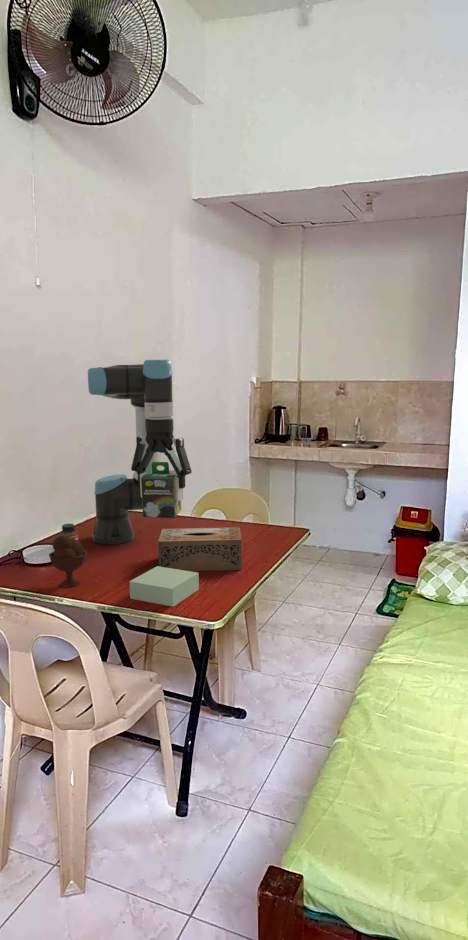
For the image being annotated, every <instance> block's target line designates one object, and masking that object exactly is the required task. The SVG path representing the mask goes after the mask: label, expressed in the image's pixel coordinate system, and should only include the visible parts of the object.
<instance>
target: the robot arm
mask: <svg viewBox="0 0 468 940" xmlns="http://www.w3.org/2000/svg"><path fill="white" fill-rule="evenodd" d="M142 363H143V364H142ZM142 363H141V364H140V363H139V364H138V363H137V364H115V365H112V366H111V365H109V366H107V367H106V366H105V367H103V366H102V367H101V366H98V367H91V368H89V369H88V370H87V383H88V394H90V395H91V396H103V397H106V398H110V399H115V400H130V406H132V407H133V408H134V409H135V439H136V440H135V441H136V443H135V444H136V445H135V451H134V454H133V458H132V463H131V467H130V469H131V471H133V473H132V478H128V476H127V474H114V475H108V476H107V475H106V476H104V477H100V478H98V479H97V480H96V481H95V484H94V495H95V497H94V498H95V519H96V520H95V523H94V526H93V527H94V528H93V531H92V541H93V542H94V543H95V542H96V544H99V545H119V544H120V545H121V544H125V543H127V542H131V541H132V540H134V539H135V532H134V531H135V530H134V529H133V527H132V523H131V520H130V517H129V511H141V510H142V488H141V477H142V476H143V475H144V474H145V473H147V472H149V471H152V462H162V461H161V459H162V458H161V457H162V454H164V455H165V456H166V457H167V459H168V461H169V462H170V464H171V466H172V468H173V471H175V472H176V474H177V475H178V476H176V477H175V494H176V501H180V500H181V501H183V499H184V489H185V488H186V476H187V475H190V474H192V467H191V464H190V461H189V458H188V455H187V450H186V448H185V439H184V437H179V438H178V437H177V438H175V437H174V419H173V418H172V417H173V416H174V403H173V402H174V400H173V369H172V362H171V361H170V359H146V360H145V359H144V361H143V362H142ZM174 447H175V449H174ZM157 470H162V466H157ZM142 511H143V510H142Z"/></svg>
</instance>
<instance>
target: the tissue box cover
mask: <svg viewBox="0 0 468 940" xmlns="http://www.w3.org/2000/svg"><path fill="white" fill-rule="evenodd" d="M159 534H160V535H159V537H158V540H157V549H158V566H159V567H165V568H172V569H178V570H184V571H191V572H199V571H201V572H202V571H203V572H205V571H239V570H240V571H242V567H243V566H242V565H243V563H242V561H243V559H242V535H241V528H240V527H238V526H237V527H199V528H198V527H193V528H191V527H190V528H189V527H188V528H187V527H186V528H161V531H160V533H159Z"/></svg>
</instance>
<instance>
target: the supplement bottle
mask: <svg viewBox="0 0 468 940" xmlns="http://www.w3.org/2000/svg"><path fill="white" fill-rule="evenodd" d="M61 535H65V536H69V537H70V538H72V539H76V540H78V541H79V532H78V531H77V530H76V529H75V524H74V523H64V524H62V526H61V531H60V532H59V536H61Z"/></svg>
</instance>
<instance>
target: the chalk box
mask: <svg viewBox="0 0 468 940" xmlns="http://www.w3.org/2000/svg"><path fill="white" fill-rule="evenodd" d="M157 466H161V467H163V468H164V469H161V470H157ZM176 476H178V475H177V474H176V472H175V470H170V465H169V462H168V461H161V462H152V471H149V472H147V473H145V474H144V475H143V476H142V477H141V488H142V518H143V519H144V518H156V519H157V518H159V519H176V517H177V516H178V515H179V513H180V512H181V511H182V500H180V501H176V494H175V477H176Z"/></svg>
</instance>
